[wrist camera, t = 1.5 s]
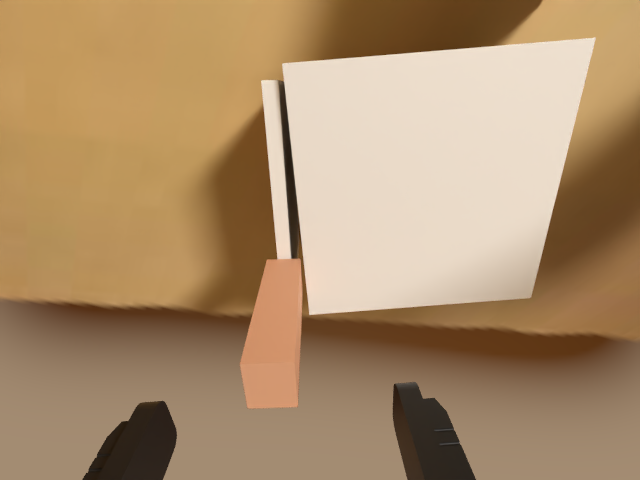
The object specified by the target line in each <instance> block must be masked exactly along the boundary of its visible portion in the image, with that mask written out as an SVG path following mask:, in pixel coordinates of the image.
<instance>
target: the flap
mask: <svg viewBox="0 0 640 480" xmlns="http://www.w3.org/2000/svg"><path fill="white" fill-rule="evenodd" d="M261 83H262V94H263V105H264V116H265V127H266V138H267V149H268V160H269V171H270V182H271V193H272V204H273V215H274V226H275V237H276V248H277V259H270V260H267V261H266V265H265V269H264V273H263V277H262V281H261V284H260V288H259V292H258V296H257V300H256V304H255V308H254V311H253V315H252V319H251V323H250V327H249V331H248V334H247V338H246V342H245V346H244V350H243V354H242V358H241V361H240V368H241V374H242V380H243V385H244V391H245V397H246V402H247V408H248V409H256V408H257V409H259V408H283V407H298V394H299V369H300V344H301V319H302V294H303V291H302V273H301V258H300V259H298V252H299V228H298V210H297V195H296V186H295V177H294V167H293V158H292V149H291V140H290V130H289V121H288V112H287V103H286V94H285V84H284V82H283V81H280V80H261Z"/></svg>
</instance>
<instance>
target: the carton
mask: <svg viewBox="0 0 640 480" xmlns="http://www.w3.org/2000/svg"><path fill="white" fill-rule="evenodd" d="M595 39H596V38H587V39H575V40H563V41H551V42H538V43H526V44H514V45H502V46H490V47H477V48H465V49H453V50H441V51H429V52H416V53H404V54H392V55H380V56H368V57H355V58H343V59H331V60H319V61H307V62H294V63H282V66H283V75H284V84H285V94H286V103H287V112H288V121H289V130H290V140H291V149H292V158H293V167H294V177H295V186H296V195H297V204H298V213H299V223H300V232H301V241H302V250H303V259H304V269H305V278H306V287H307V296H308V305H309V315H314V314H327V313H340V312H353V311H366V310H380V309H393V308H406V307H419V306H432V305H445V304H458V303H471V302H484V301H497V300H511V299H524V298H531V296H532V292H533V288H534V284H535V280H536V276H537V272H538V268H539V264H540V260H541V256H542V252H543V248H544V244H545V240H546V236H547V232H548V228H549V223H550V219H551V215H552V211H553V207H554V203H555V199H556V195H557V191H558V187H559V183H560V179H561V175H562V171H563V167H564V163H565V159H566V155H567V151H568V147H569V143H570V139H571V135H572V131H573V127H574V123H575V119H576V115H577V111H578V107H579V103H580V99H581V95H582V91H583V87H584V83H585V79H586V75H587V71H588V67H589V63H590V59H591V55H592V51H593V47H594V43H595Z"/></svg>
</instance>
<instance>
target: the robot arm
mask: <svg viewBox="0 0 640 480" xmlns="http://www.w3.org/2000/svg"><path fill="white" fill-rule="evenodd" d="M393 421H394V427H395V432H396V436H397V440H398V444H399V448H400V452H401V456H402V459H403V464H404V468H405V472H406V475H407V479H408V480H476V479H475V476H474V474H473V472H472V469H471V467H470V465H469V463H468V460H467V458H466V455H465V453H464V451H463V449H462V446H461V445H460V443H459V439H458V437H457V435H456V432H455V431H454V428H453V425H452V423H451V421H450V418H449V416H448V414H447V412H446V410H445V409H444V408H443V407H442V406H441V405H440V404H439V403H438V401H437V400H436V399H435V398H428V399H423V398H422V395H421V392H420V390H419V387H418V385H417V383H416V382H410V383H398V384H394V391H393ZM176 438H177V432H176V428H175V425H174V423H173V420H172V417H171V415H170V412H169V410H168V407H167V405H166V403H165V402H164V401H158V402H145V403H140V404H139V405H138V406H137V407H136V409H135V411H134V412H133V414H132V416H131V418H130V419H129V421H124V422H121V423H120V424H119V425H118V426H117V427H116V428H115V430H114V431H113V432H112V433H111V434H110V435H109V436H108V437H107V438H106V440H105V442H104V444H103V445H102V447H101V449H100V450H99V452H98V454H97V458H95V459H94V461H93V462H92V464H91V466H90V468H89V471H88V473H86V475H85V476H84V478H83V480H163V478H164V475H165V473H166V470H167V467H168V464H169V462H170V459H171V457H172V454H173V451H174V448H175V445H176Z"/></svg>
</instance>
